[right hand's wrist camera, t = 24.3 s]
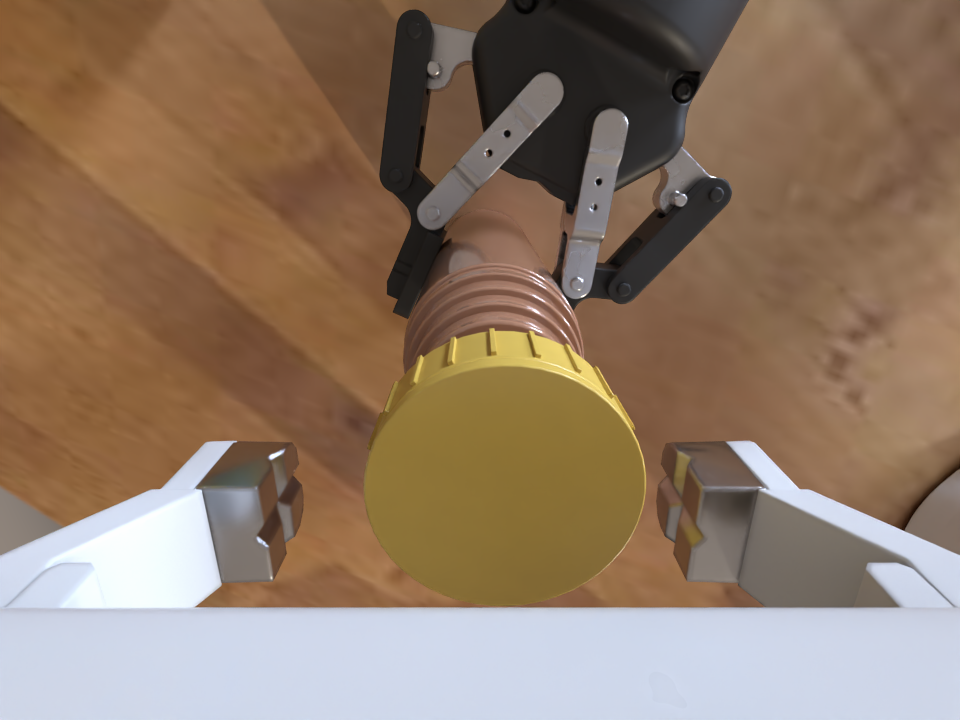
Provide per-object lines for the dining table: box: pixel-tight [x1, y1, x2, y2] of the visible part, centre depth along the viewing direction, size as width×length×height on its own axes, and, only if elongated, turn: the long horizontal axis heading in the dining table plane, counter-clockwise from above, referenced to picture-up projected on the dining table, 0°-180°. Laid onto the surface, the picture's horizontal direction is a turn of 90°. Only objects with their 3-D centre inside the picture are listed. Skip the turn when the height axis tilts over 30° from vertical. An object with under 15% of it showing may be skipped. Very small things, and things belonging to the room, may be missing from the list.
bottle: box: [403, 209, 584, 374], centre depth 19 cm, size 5×5×21 cm
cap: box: [363, 328, 646, 606], centre depth 9 cm, size 4×4×2 cm
